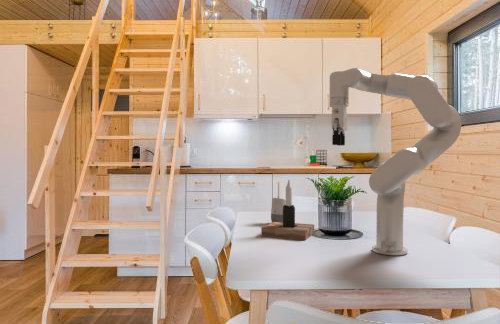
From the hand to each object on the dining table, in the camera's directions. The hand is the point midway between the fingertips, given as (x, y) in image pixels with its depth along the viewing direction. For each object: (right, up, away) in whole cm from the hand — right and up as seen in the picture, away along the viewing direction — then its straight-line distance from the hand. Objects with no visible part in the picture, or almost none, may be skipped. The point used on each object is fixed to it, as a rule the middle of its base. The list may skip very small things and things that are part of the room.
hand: (338, 145), depth 157 cm
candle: (-18, -40, +18) cm, 48 cm away
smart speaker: (-20, -40, +45) cm, 63 cm away
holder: (-19, -40, +19) cm, 48 cm away
